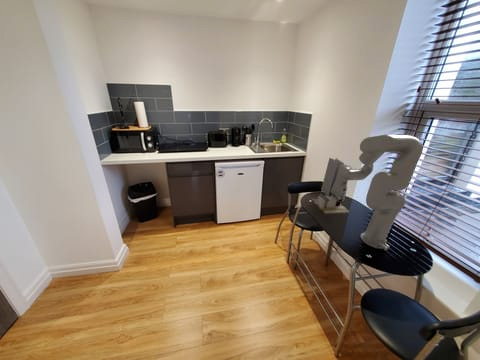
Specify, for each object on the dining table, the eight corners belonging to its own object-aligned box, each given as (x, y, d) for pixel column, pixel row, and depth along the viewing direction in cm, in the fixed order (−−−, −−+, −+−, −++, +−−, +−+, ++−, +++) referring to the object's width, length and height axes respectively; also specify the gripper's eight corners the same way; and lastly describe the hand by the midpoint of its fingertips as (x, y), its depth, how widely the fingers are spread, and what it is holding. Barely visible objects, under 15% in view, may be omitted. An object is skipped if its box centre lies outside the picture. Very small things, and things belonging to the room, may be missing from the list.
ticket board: (349, 212, 135) (349, 211, 134) (325, 213, 132) (325, 212, 131) (333, 199, 152) (333, 198, 151) (311, 200, 149) (311, 198, 148)
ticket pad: (333, 208, 137) (336, 199, 134) (322, 208, 135) (324, 200, 133) (326, 201, 146) (328, 193, 143) (315, 201, 144) (317, 193, 141)
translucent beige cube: (339, 206, 140) (342, 199, 137) (332, 206, 139) (334, 199, 136) (334, 202, 145) (337, 195, 142) (327, 202, 144) (329, 195, 142)
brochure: (334, 197, 155) (344, 163, 143) (327, 197, 155) (337, 163, 143) (327, 190, 168) (336, 158, 156) (321, 189, 168) (329, 157, 156)
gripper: (354, 187, 127) (346, 209, 134) (338, 177, 143) (332, 197, 150) (344, 187, 126) (337, 210, 133) (329, 177, 141) (323, 198, 149)
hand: (334, 203), depth 141 cm, fingers closed on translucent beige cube, 6 cm apart
